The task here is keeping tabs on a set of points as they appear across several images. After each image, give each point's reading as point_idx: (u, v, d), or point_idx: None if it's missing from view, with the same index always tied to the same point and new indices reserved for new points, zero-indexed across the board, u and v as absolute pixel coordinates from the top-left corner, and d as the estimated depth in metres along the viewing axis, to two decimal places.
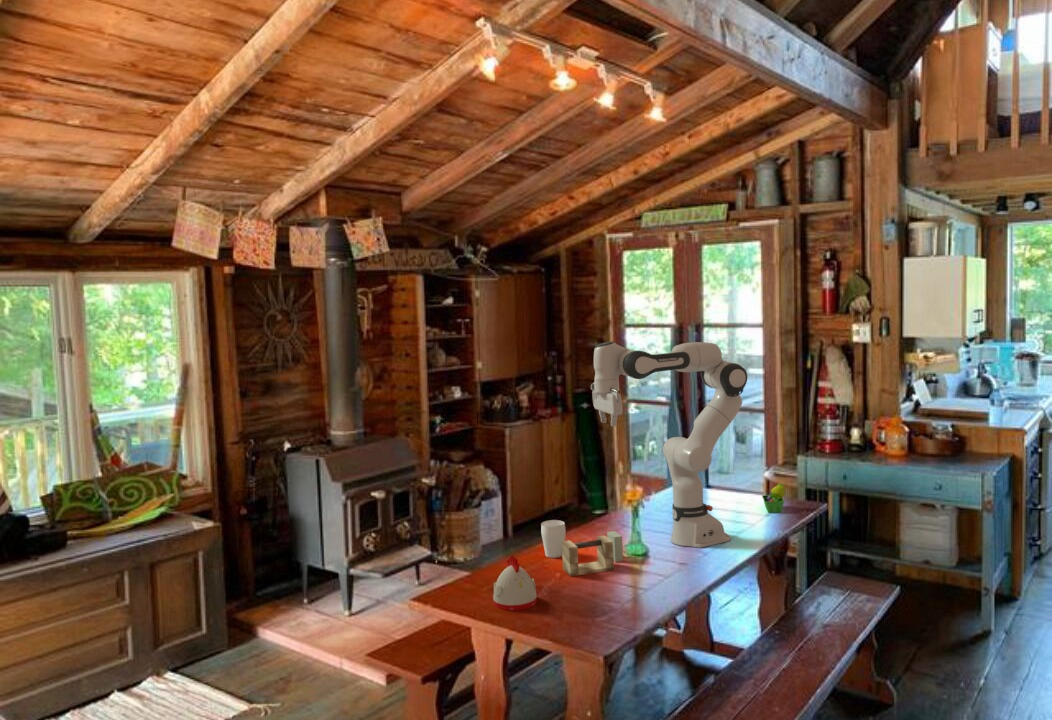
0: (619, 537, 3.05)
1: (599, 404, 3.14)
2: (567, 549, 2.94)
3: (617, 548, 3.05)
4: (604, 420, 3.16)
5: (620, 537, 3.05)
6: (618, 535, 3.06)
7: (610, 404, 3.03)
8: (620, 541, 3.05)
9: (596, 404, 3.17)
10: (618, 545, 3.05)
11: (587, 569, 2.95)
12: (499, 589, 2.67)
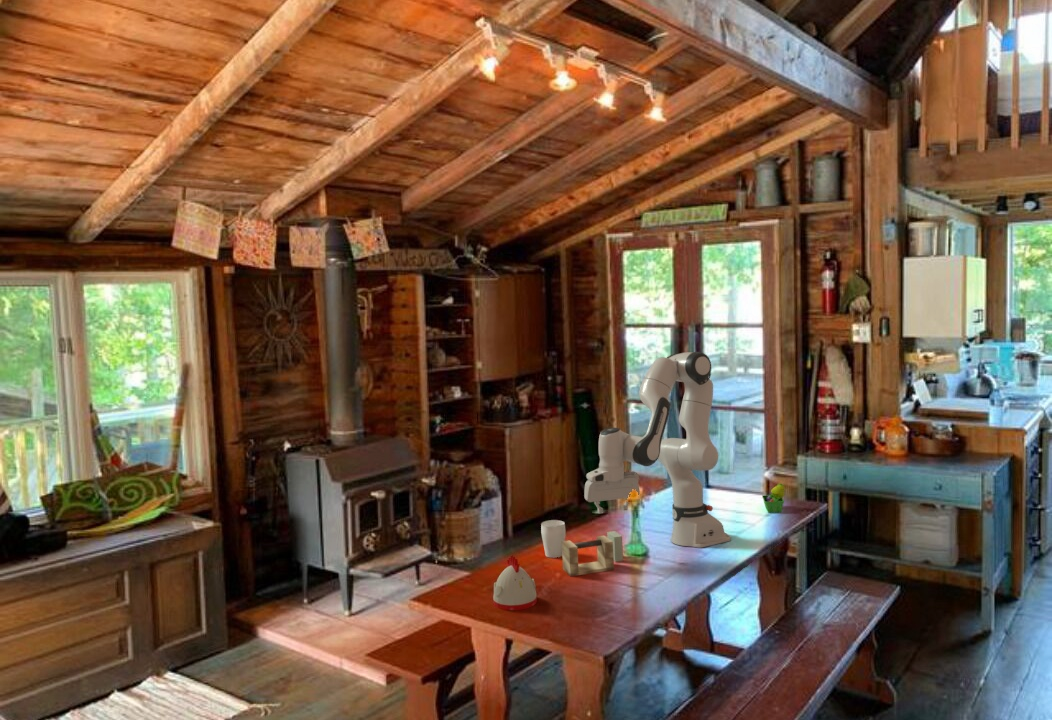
0: (619, 537, 3.05)
1: (604, 494, 3.04)
2: (567, 549, 2.94)
3: (617, 548, 3.05)
4: None
5: (620, 537, 3.05)
6: (618, 535, 3.06)
7: (633, 487, 3.07)
8: (620, 541, 3.05)
9: (597, 496, 3.03)
10: (618, 545, 3.05)
11: (587, 569, 2.95)
12: (499, 589, 2.67)
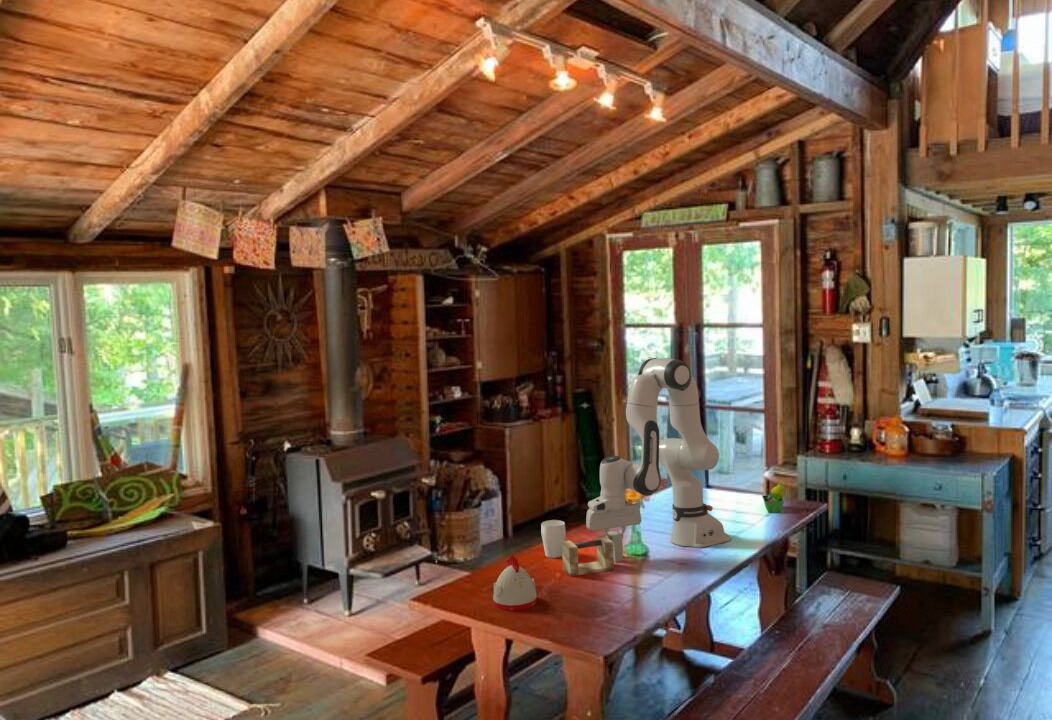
0: (619, 537, 3.05)
1: (606, 522, 3.05)
2: (567, 549, 2.94)
3: (617, 548, 3.05)
4: None
5: (620, 537, 3.05)
6: (618, 535, 3.06)
7: (635, 514, 3.08)
8: (620, 541, 3.05)
9: (599, 525, 3.04)
10: (618, 545, 3.05)
11: (587, 569, 2.95)
12: (499, 589, 2.67)
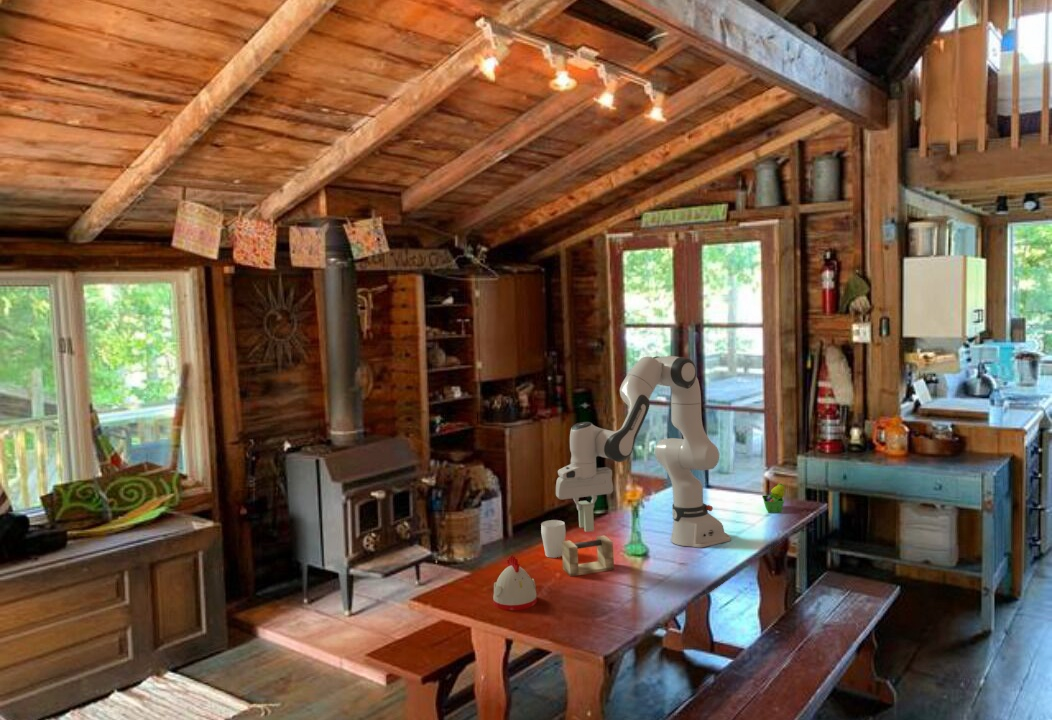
0: (590, 506, 2.93)
1: (576, 491, 2.93)
2: (567, 549, 2.94)
3: (588, 517, 2.93)
4: None
5: (591, 506, 2.93)
6: (589, 504, 2.95)
7: (606, 483, 2.96)
8: (591, 511, 2.94)
9: (568, 493, 2.93)
10: (588, 514, 2.93)
11: (587, 569, 2.95)
12: (499, 589, 2.67)
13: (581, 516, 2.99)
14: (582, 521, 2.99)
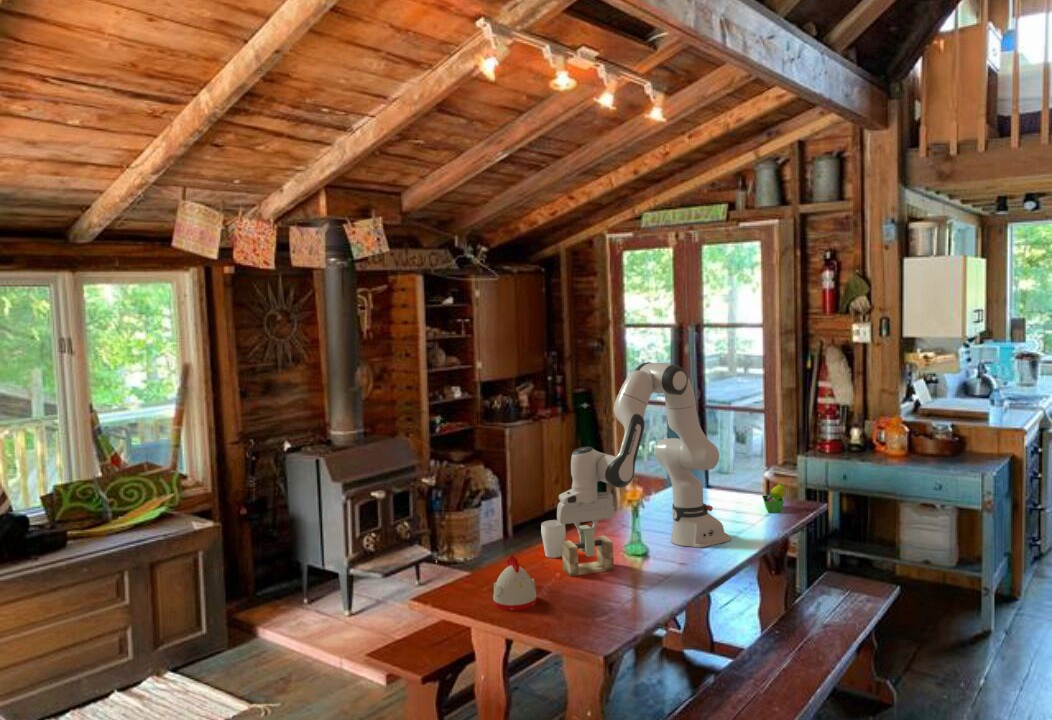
0: (591, 531, 2.94)
1: (578, 516, 2.94)
2: (567, 549, 2.94)
3: (589, 542, 2.94)
4: None
5: (592, 531, 2.94)
6: (590, 529, 2.95)
7: (607, 507, 2.97)
8: (592, 535, 2.94)
9: (570, 518, 2.93)
10: (589, 539, 2.94)
11: (587, 569, 2.95)
12: (499, 589, 2.67)
13: (582, 540, 2.99)
14: None
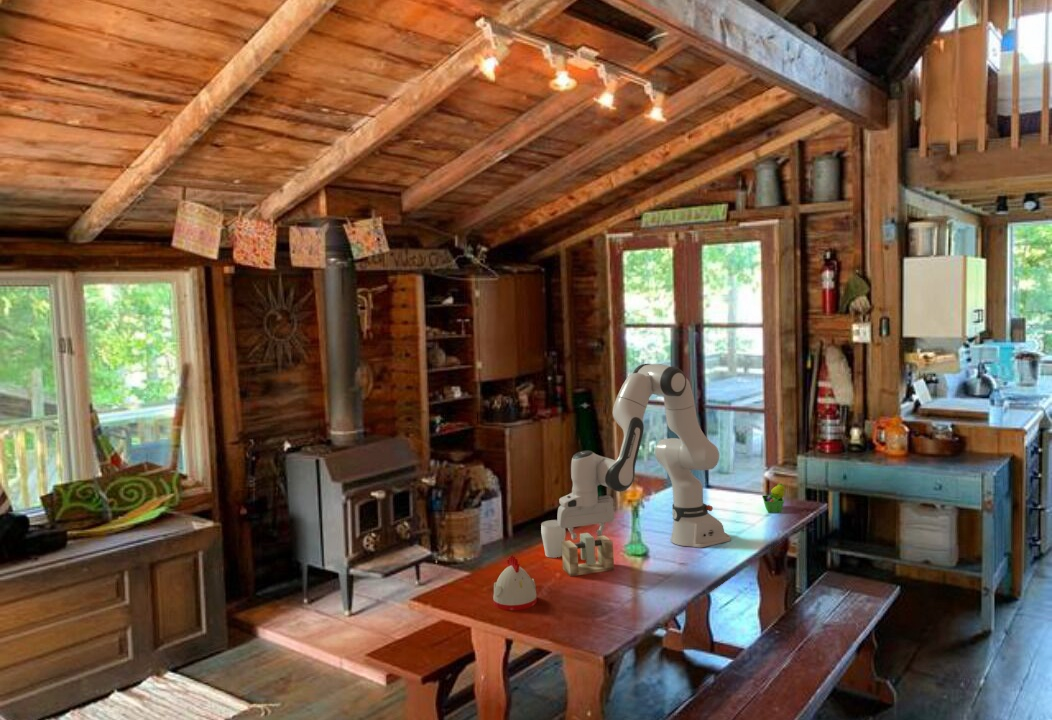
0: (592, 539, 2.94)
1: (578, 520, 2.94)
2: (567, 549, 2.94)
3: (589, 550, 2.94)
4: None
5: (592, 539, 2.94)
6: (591, 537, 2.96)
7: (608, 511, 2.97)
8: (592, 544, 2.95)
9: (570, 522, 2.94)
10: (590, 547, 2.94)
11: (587, 569, 2.95)
12: (499, 589, 2.67)
13: (583, 548, 3.00)
14: (584, 553, 3.00)
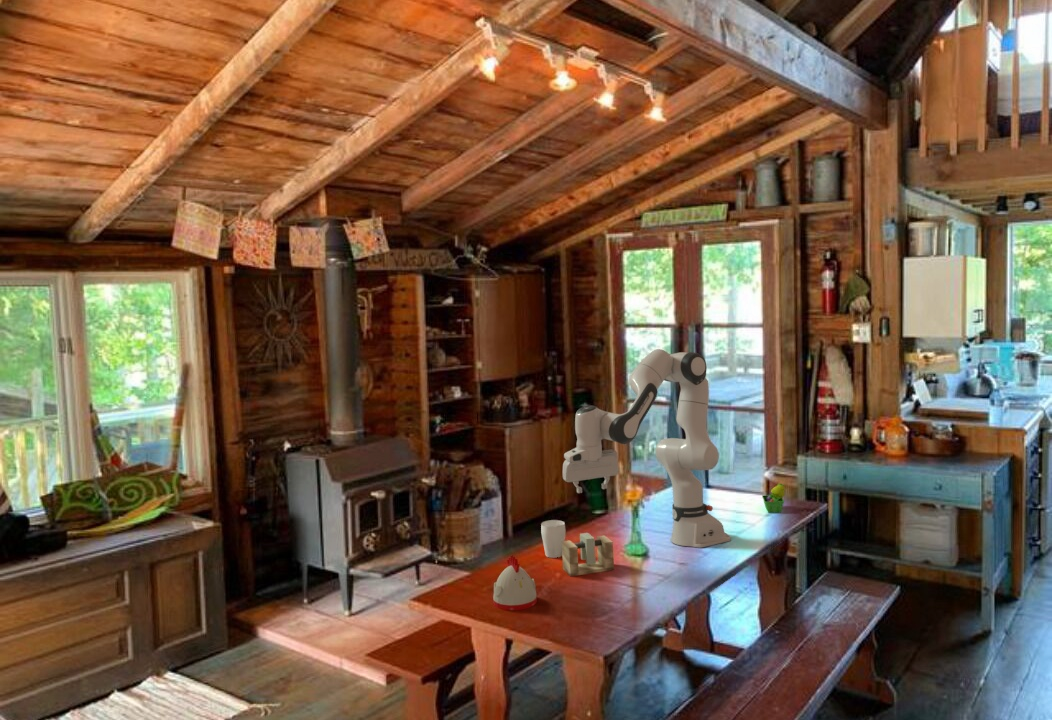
0: (592, 539, 2.94)
1: (583, 474, 2.99)
2: (567, 549, 2.94)
3: (589, 550, 2.94)
4: None
5: (592, 539, 2.94)
6: (590, 537, 2.96)
7: (612, 465, 3.02)
8: (592, 544, 2.95)
9: (575, 476, 2.98)
10: (590, 547, 2.94)
11: (587, 569, 2.95)
12: (499, 589, 2.67)
13: (583, 548, 3.00)
14: (584, 553, 3.00)
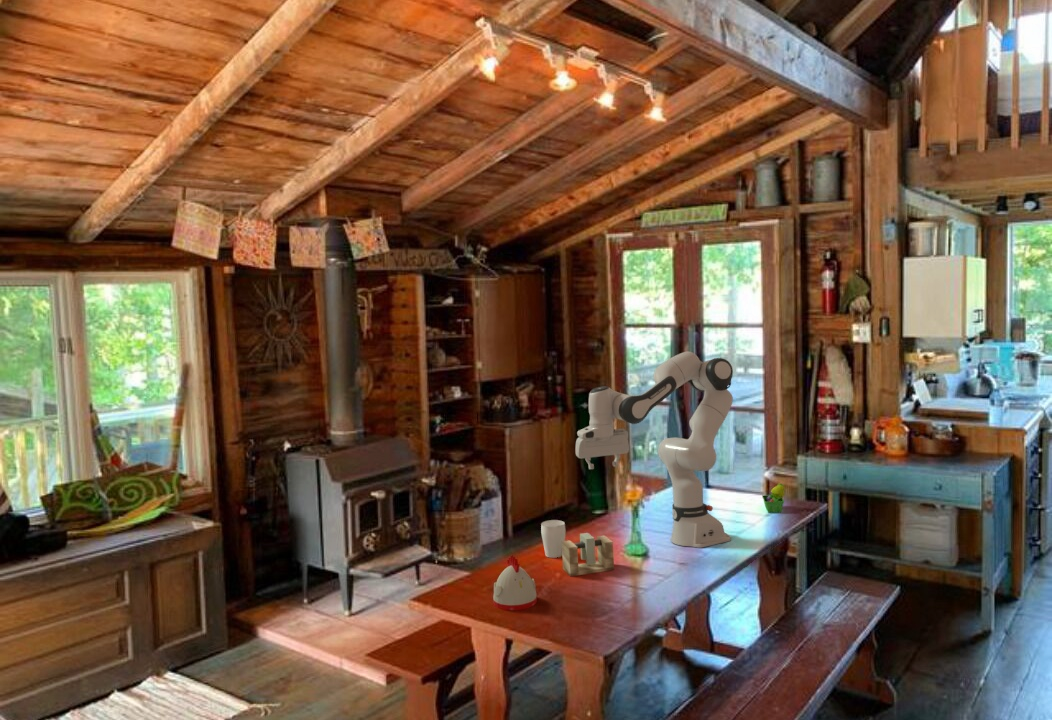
0: (592, 539, 2.94)
1: (595, 451, 3.13)
2: (567, 549, 2.94)
3: (589, 550, 2.94)
4: None
5: (592, 539, 2.94)
6: (590, 537, 2.96)
7: (623, 443, 3.16)
8: (592, 544, 2.95)
9: (587, 452, 3.13)
10: (590, 547, 2.94)
11: (587, 569, 2.95)
12: (499, 589, 2.67)
13: (583, 548, 3.00)
14: (584, 553, 3.00)
